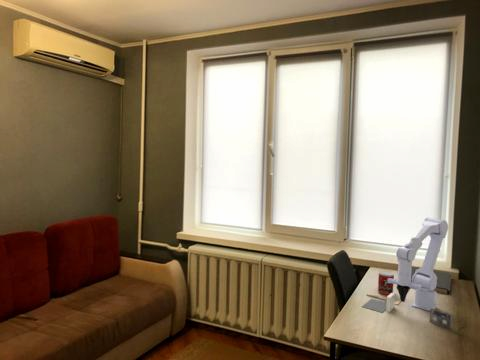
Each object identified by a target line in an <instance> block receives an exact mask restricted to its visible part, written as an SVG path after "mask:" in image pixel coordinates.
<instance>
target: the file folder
mask: <svg viewBox="0 0 480 360" xmlns="http://www.w3.org/2000/svg"><path fill="white" fill-rule="evenodd" d="M420 268H421V267H414V266H412V270H411V282H412V277H413V275H414V274H415V272H416V270H417V269H420ZM433 272H434V273H435V275H436V276H437V285H436V288H435V289H434V290H433V291H435V292H437V294H439V293H440V294H445V295H449V294H450V293H451V292H450V291H451V286H452V285H451V283H452V278H453V277H452V275H451V273H449V272H444V271H438V270H433ZM425 276H427V275H425ZM428 277H430V276H428Z"/></svg>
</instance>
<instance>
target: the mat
mask: <svg viewBox="0 0 480 360" xmlns="http://www.w3.org/2000/svg"><path fill="white" fill-rule="evenodd" d="M386 305H387V302H385V301H384V300H380V299H377V298H371V299H369V300H368V301H367V302H365V303H364V304H362V305H361V308H364V309H368V310H371V311H374V312H378V313H381V314H383V313H384V312H385V311H386Z"/></svg>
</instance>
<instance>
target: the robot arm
mask: <svg viewBox="0 0 480 360" xmlns="http://www.w3.org/2000/svg"><path fill="white" fill-rule="evenodd" d="M448 230H449V225H448V222H447V221H446V220H445V219H436V218H432V217H425V218H424V220H423V221H422V227H421V228H420V230H419V231H418V233H417V234H416V235H415V236H412V237H411V238H409V240H407V242H406V243H405V244H404V245H403V246H401V247H399V248H397V250H396V255H395V256H396V258H397V262H398V266H397V278H394V279H391V278H388V281H387V283H392V284H393V285H396V289H397V292H398V294H399V298H400V299H399V301H400V302H402V303H404V302H405V301H406V298H407V295H408V294H409V291H410V290H411V289H415V293H414V302H413V303H412V305H411V306H412V307H415V308H418V309H421V310H425V311H429V312H430V309H434V310H436V308H437V301H438V300H437V299H438V297H437V296H438V292H435V291H433V290H434V289H435V288H436V285H437V276H436V275H435V273H434V272H433V271H435V270H434V269H435V266H436V263H437V259H438V256H439V253H440V250H441V247H442V243H443V240H444V239H445V238H446V236H447V232H448ZM427 237H430V240H429V243H428V246H427V249H426V253H425V256H424V258H423V263H422V266H421V267H419V268H420V269H417V270H416V272H415V274H414V275H413V277H412V282H411V270H412V267H413V261H414V260H415V258H416V255H417V254H418V253H417V252H418V251H419V249H420V248H421V247H422V246H423V241H424V240H425V239H426V238H427ZM425 275H427V276H425ZM428 276H430V277H428Z"/></svg>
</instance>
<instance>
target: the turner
mask: <svg viewBox="0 0 480 360" xmlns="http://www.w3.org/2000/svg"><path fill="white" fill-rule="evenodd" d="M366 296H367V297H371V298H373V299H377V300H380V301H384V302H387V297H382V296H378V295H375V294H371V293H366ZM400 303H401V300H396V299H395V301H394V306H397V305H399V304H400Z"/></svg>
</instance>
